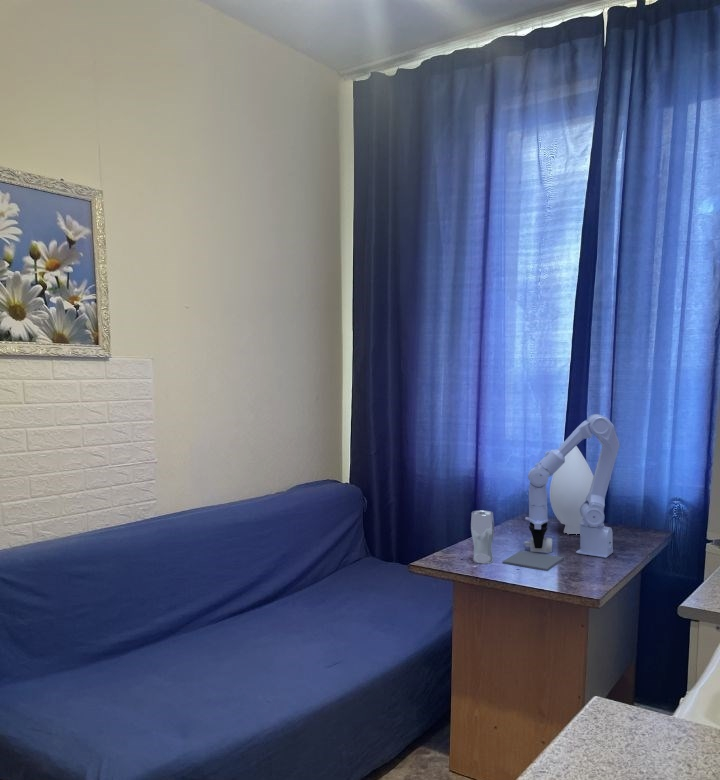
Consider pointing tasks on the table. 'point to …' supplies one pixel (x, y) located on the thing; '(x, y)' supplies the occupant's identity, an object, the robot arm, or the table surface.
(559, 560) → the mat
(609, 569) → the table surface
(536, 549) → the connector
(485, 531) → the beer glass
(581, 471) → the lamp
